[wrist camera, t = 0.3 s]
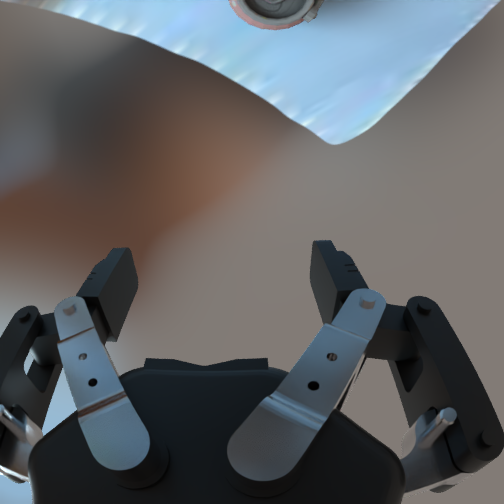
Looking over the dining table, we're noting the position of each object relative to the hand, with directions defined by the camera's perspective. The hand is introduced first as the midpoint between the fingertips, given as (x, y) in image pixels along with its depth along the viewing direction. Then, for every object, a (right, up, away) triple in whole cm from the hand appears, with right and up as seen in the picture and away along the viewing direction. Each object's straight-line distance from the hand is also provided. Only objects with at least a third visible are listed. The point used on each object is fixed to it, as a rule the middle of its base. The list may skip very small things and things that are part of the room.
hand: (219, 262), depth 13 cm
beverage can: (+3, +31, +11) cm, 33 cm away
